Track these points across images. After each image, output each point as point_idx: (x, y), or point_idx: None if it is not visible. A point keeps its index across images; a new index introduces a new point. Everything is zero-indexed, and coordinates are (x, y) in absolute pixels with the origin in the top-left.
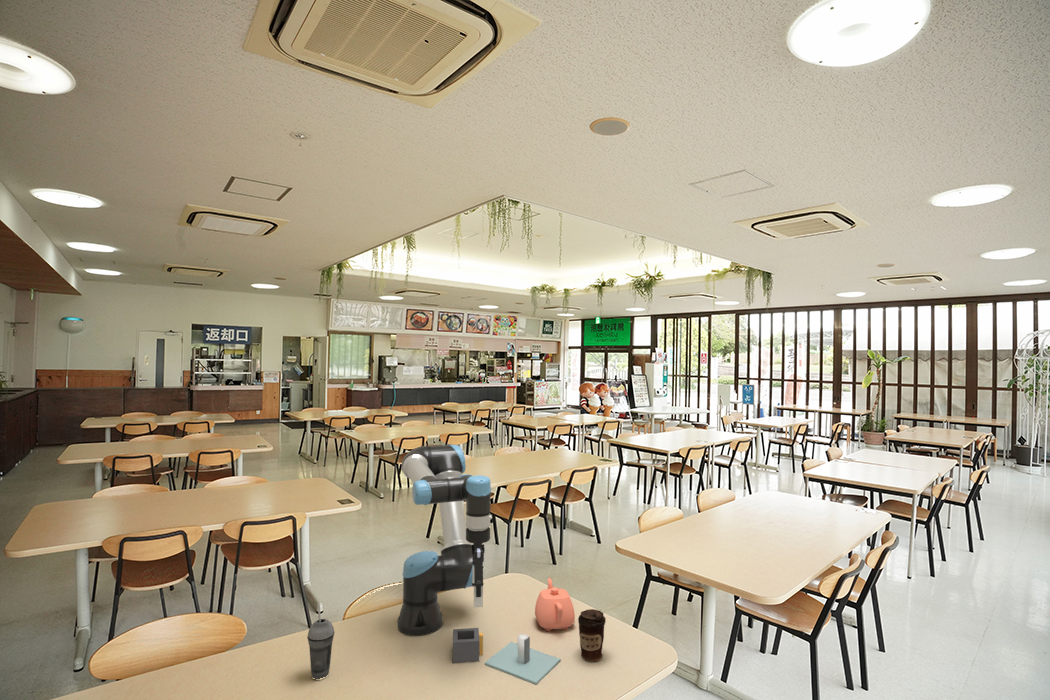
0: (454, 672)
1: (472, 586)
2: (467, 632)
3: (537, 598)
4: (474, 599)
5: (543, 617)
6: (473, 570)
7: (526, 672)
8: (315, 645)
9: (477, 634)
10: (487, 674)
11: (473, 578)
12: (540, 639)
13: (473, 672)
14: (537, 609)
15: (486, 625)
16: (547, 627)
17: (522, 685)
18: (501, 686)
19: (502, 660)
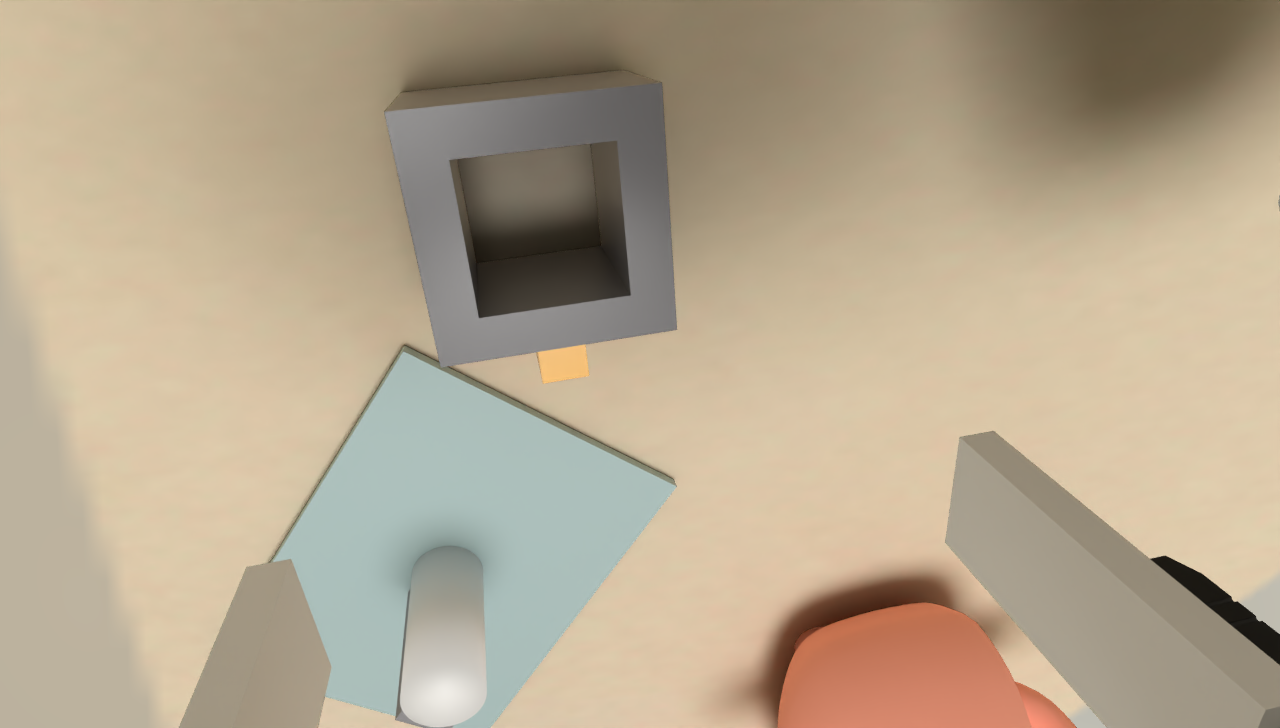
0: (263, 126)
1: (966, 442)
2: (623, 233)
3: (998, 697)
4: (203, 684)
5: (816, 701)
6: (1180, 650)
7: (312, 606)
8: None
9: (554, 336)
10: (278, 377)
11: (1050, 537)
12: (708, 621)
13: (288, 278)
14: (895, 681)
15: (928, 300)
16: (789, 668)
17: (189, 589)
18: (146, 479)
19: (441, 461)
